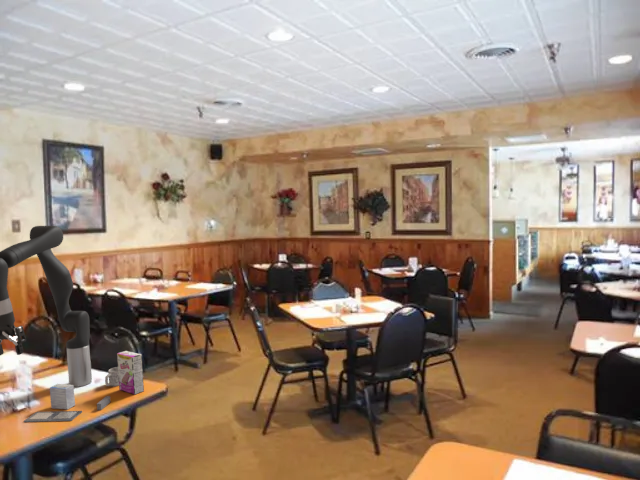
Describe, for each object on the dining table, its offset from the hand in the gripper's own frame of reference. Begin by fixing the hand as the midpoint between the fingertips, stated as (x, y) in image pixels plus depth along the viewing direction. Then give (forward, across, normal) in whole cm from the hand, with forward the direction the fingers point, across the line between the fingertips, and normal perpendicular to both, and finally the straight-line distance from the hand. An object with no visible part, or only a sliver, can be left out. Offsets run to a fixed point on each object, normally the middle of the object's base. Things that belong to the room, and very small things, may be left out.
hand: (10, 354), depth 181 cm
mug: (+32, -10, -39) cm, 51 cm away
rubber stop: (+29, -21, -16) cm, 40 cm away
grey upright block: (+28, -5, -14) cm, 32 cm away
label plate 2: (+28, -13, -5) cm, 31 cm away
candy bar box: (+32, -23, -33) cm, 51 cm away
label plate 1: (+27, -4, -4) cm, 28 cm away
